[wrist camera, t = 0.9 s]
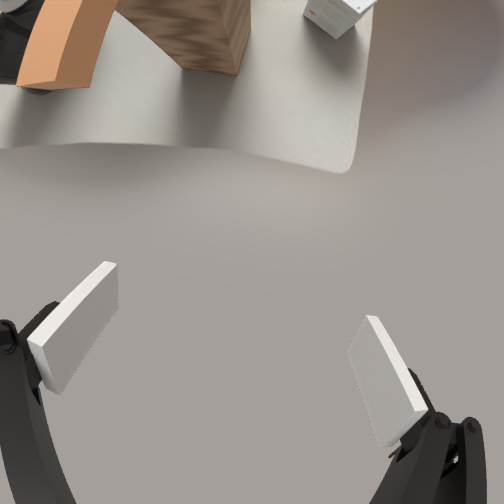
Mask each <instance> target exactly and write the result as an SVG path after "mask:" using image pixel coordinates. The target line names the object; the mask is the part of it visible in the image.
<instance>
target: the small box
mask: <svg viewBox="0 0 504 504" xmlns="http://www.w3.org/2000/svg"><path fill="white" fill-rule="evenodd" d="M377 1H378V0H308V3H307V5H306V8H305V10H304V13H303V15H304V16H305V17H307V18H308V19H310V20H311V21H312V22H314V23H315V24H316V25H318V26H319V27H320V28H322V29H323V30H324V31H325V32H327V33H328V34H329V35H331V36H332V37H333V38H334V39H335V40H337V39H338V38H339V37H340V36H342V35H343V34H344V33H345V32H346V31H347V30H349V29H350V28H351V27H352V26H353V25H355V24H356V23H357V22H358V20H359V19H360V18H361V17H362V16H363V15H364V14H365V13H366V12H367V11H368V10H369V9H370V8H371V7H372V6H373V5H374V4H375V3H376V2H377Z"/></svg>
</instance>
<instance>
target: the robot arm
mask: <svg viewBox="0 0 504 504" xmlns="http://www.w3.org/2000/svg"><path fill="white" fill-rule="evenodd" d="M44 2H45V0H0V10H1V11H2V13H1V14H0V84H8V85H16V83H17V79H18V75H19V71H20V67H21V63H22V60H23V57H24V53H25V50H26V47H27V44H28V41H29V38H30V35H31V33H32V30H33V27H34V25H35V22H36V20H37V17H38V15H39V13H40V10H41V8H42V6H43V4H44ZM21 88H23V89H24V90H26V91H27V92H29V93H31V94H37V95H43V94H46V93H49V92H50V91H52V90H47V89H38V88H27V87H21ZM117 268H118V267H117V264H115V263H111V262H107V261H104V262H103V263H102V264H101V265H100V266H99V267H98V268H96V269H95V270H94V271H93V272H92V273H91V274H90V275H89V276H88V277H87V278H86V279H85V280H84V281H83V282H81V283H80V284H79V285H78V286H77V287H76V288H75V289H74V290H73V291H72V292H71V293H70V294H69V295H68V296H67V297H66V298H65V299H64V300H63V301H62V302H61V303H59V302H56V301H54V302H52V303H50V304H48V305H46V306H45V307H44V308H43V309H42V310H41V311H40V312H39V314H37V315H36V316H35V317H34V319H32V320H31V321H30V322H29V323H28V324H27V325H26V326H25V327H24V329H22V330H21V332H19V334H18V333H17V330H16V327H15V324H13V322H12V321H9V320H4V319H3V320H0V447H1V452H2V456H3V461H4V466H5V470H6V474H7V477H8V481H9V485H10V488H11V491H12V494H13V497H14V500H15V503H16V504H76V502H75V499H74V497H73V495H72V493H71V491H70V488H69V486H68V484H67V481H66V479H65V476H64V474H63V471H62V468H61V466H60V463H59V460H58V457H57V455H56V451H55V448H54V445H53V442H52V438H51V435H50V431H49V427H48V424H47V420H46V416H45V412H44V407H43V402H42V397H41V393H40V388H39V386H38V385H39V383H40V382H41V380H43V383H44V385H45V387H46V389H48V390H50V391H52V392H54V393H56V394H58V395H61V394H62V392H63V390H64V389H65V387H66V385H67V384H68V382H69V381H70V379H71V378H72V376H73V374H74V373H75V371H76V370H77V368H78V367H79V365H80V363H81V362H82V360H83V359H84V357H85V356H86V354H87V353H88V351H89V350H90V348H91V347H92V345H93V344H94V342H95V341H96V339H97V338H98V337H99V335H100V334H101V332H102V331H103V329H104V328H105V326H106V325H107V324H108V322H109V321H110V319H111V318H112V317H113V315H114V314H115V312H116V311H117V310H118V283H117V282H118V281H117V280H118V275H117ZM347 356H348V359H349V361H350V364H351V367H352V370H353V372H354V375H355V378H356V381H357V384H358V387H359V390H360V393H361V396H362V398H363V401H364V404H365V407H366V410H367V413H368V417H369V420H370V423H371V426H372V429H373V432H374V435H375V439H376V442H377V445H378V448H385V447H391V446H393V445H394V444H395V443H396V442H397V441H398V440H399V439H400V441H401V445H400V446H399V447H398V448H397V449H396V450H395V451H394V452H393V453H392V454H390V455H389V457H388V458H391V457H392V456H393V455H395V456H394V458H393V460H392V462H391V464H390V466H389V468H388V470H387V472H386V474H385V476H384V478H383V480H382V482H381V484H380V486H379V488H378V489H377V491H376V493H375V495H374V496H373V498H372V500H371V502H370V503H369V504H487V479H486V462H485V451H484V442H483V435H482V429H481V425H480V424H479V422H478V421H477V420H476V419H475V418H472V417H467V418H465V420H463V421H462V422H461V423H460V424H458V423H452V422H451V420H450V419H449V418H448V416H447V415H445V414H444V413H441V412H436V411H435V409H434V407H433V406H432V404H431V402H430V400H429V398H428V396H427V394H426V392H425V391H424V388H423V386H422V385H421V382H420V381H419V379H418V377H417V375H416V374H415V373H414V372H413V371H412V370H411V369H409V368H407V367H406V365H405V364H404V362H403V360H402V358H401V356H400V354H399V353H398V351H397V349H396V347H395V346H394V344H393V342H392V340H391V339H390V337H389V335H388V334H387V332H386V330H385V329H384V327H383V325H382V323H381V322H380V320H379V318H378V317H376V316H369V315H366V316H365V318H364V320H363V322H362V324H361V326H360V329H359V330H358V332H357V334H356V336H355V338H354V340H353V342H352V344H351V346H350V348H349V349H348V351H347ZM456 456H458V461H457V462H456V463H454V458H455V457H456Z"/></svg>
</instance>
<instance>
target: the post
mask: <svg viewBox="0 0 504 504" xmlns="http://www.w3.org/2000/svg"><path fill="white" fill-rule="evenodd" d="M115 10H116V11H117V12H118V13H120V14H121V15H122V16H123V17H125V18H126V19H127V20H128V21H130V22H131V23H132V24H133V25H134V26H136V27H137V28H138V29H139V30H140V31H141V32H143V33H144V34H145V35H146V36H147V37H148V38H150V39H151V40H152V41H153V42H154V43H155V44H156V45H158V46H159V47H160V48H161V49H162V50H163V51H164V52H165V53H166V54H167V55H169V56H170V57H171V58H172V59H173V60H174V61H175V62H176V63H177V64H178V65H179V66H180V67H181V68H186V69H195V70H204V71H211V72H218V73H224V74H230V75H236V76H237V75H238V72H239V68H240V65H241V61H242V57H243V54H244V50H245V47H246V44H247V40H248V37H249V34H250V30H251V14H250V0H118V2H117V5H116V7H115Z"/></svg>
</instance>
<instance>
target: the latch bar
mask: <svg viewBox="0 0 504 504" xmlns="http://www.w3.org/2000/svg"><path fill="white" fill-rule="evenodd" d="M117 2H118V0H45V2H44V4H43V6H42V8H41V10H40V13H39V15H38V17H37V20H36V22H35V25H34V27H33V30H32V33H31V35H30V38H29V41H28V44H27V47H26V50H25V53H24V57H23V60H22V63H21V67H20V71H19V75H18V79H17V83H16V87H27V88H38V89H47V90H54V89H68V88H89V87H90V83H91V79H92V75H93V71H94V67H95V64H96V60H97V57H98V54H99V51H100V47H101V44H102V41H103V38H104V36H105V33H106V30H107V27H108V25H109V22H110V19H111V17H112V14H113V12H114V9H115V7H116V5H117Z"/></svg>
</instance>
